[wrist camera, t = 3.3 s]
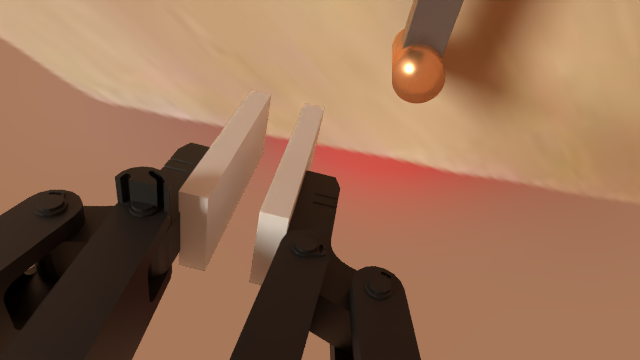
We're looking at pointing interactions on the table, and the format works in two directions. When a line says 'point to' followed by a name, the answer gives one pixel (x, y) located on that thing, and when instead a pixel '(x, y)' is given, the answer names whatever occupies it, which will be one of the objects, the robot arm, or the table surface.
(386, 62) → the table surface
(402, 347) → the robot arm
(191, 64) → the table surface
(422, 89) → the lever
